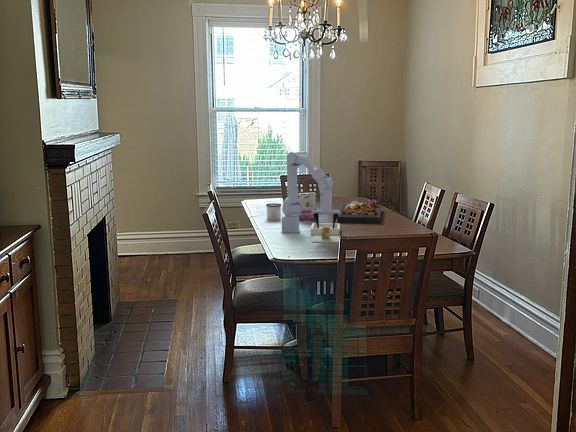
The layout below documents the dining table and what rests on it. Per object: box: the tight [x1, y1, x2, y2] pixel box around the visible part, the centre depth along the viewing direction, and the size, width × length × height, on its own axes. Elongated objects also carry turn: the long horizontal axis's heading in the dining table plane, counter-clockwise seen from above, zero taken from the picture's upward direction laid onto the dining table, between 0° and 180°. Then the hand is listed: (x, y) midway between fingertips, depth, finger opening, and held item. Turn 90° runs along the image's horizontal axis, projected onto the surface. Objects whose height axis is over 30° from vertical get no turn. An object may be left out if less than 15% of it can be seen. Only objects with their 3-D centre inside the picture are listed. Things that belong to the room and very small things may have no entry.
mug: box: [265, 202, 283, 221], centre depth 351 cm, size 12×10×9 cm
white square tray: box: [310, 222, 341, 236], centre depth 311 cm, size 15×15×4 cm
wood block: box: [321, 226, 331, 239], centre depth 293 cm, size 4×4×6 cm
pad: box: [310, 235, 341, 244], centre depth 293 cm, size 14×14×1 cm
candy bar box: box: [298, 192, 317, 222], centre depth 346 cm, size 11×5×16 cm, turn 101°
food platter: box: [336, 198, 382, 225], centre depth 357 cm, size 45×25×10 cm, turn 170°
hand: (325, 228), depth 292 cm, fingers open, 7 cm apart
